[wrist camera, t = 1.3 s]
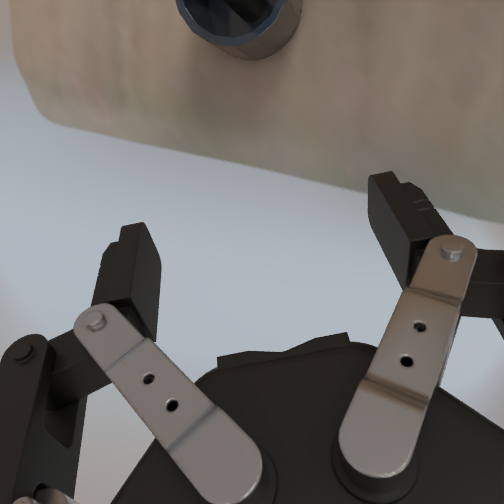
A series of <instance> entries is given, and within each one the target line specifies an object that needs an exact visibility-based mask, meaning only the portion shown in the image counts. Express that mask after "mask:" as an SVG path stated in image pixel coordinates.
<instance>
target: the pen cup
mask: <svg viewBox="0 0 504 504" xmlns="http://www.w3.org/2000/svg"><path fill="white" fill-rule="evenodd" d="M176 4H177V7H178V11H179V13H180V15H181V16H182V17H183V19H184V20H185V22H186V23H187V25H188V26H189V27H190V29H191V30H192V31H193V32H194V33H195V34H197V35H198V36H200V37H202V38H203V39H205V40H206V41H208V42H209V43H211V44H213V45H214V46H216V47H218V48H220V49H221V50H223V51H225V52H226V53H228V54H230V55H231V56H233V57H235V58H240V59H245V60H258V59H262V58H265V57H268V56H270V55H272V54H274V53H276V52H277V51H278V50H280V49H281V48H282V47H283V46H284V45H285V44H286V43H287V42H288V41H289V39H290V38H291V37H292V35H293V34H294V32H295V30H296V28H297V26H298V23H299V20H300V16H301V11H302V0H266V8H265V11H264V13H263V14H262V15H261V16H260V17H259V18H258V19H256V20H254V21H246V20H243V19H242V18H241V17H240V16H239V15H238V14H237V13H235V12H234V11H233V10H232V9H231V8H230V7H229V6H228V5H227V4H226V3H225V2H224V1H223V0H176Z"/></svg>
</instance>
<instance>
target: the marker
mask: <svg viewBox="0 0 504 504" xmlns="http://www.w3.org/2000/svg"><path fill="white" fill-rule="evenodd" d="M223 1H224V2H225V3H226V4H227V5H228V6H229V7H230V8H231V9H232V10H233V11H234V12H235V13H237V14H238V15H239V16H240V17H241V18H242V19H243V20H246V21H254V20H256V19H258V18H259V17H260V16H261V15H262V14H263V13H264V11H265V8H266V0H223Z"/></svg>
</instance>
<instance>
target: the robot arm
mask: <svg viewBox="0 0 504 504" xmlns="http://www.w3.org/2000/svg"><path fill="white" fill-rule="evenodd" d="M368 217H369V222H370V225H371V228H372V229H373V232H374V234H375V236H376V238H377V240H378V242H379V244H380V245H381V248H382V250H383V252H384V254H385V256H386V258H387V260H388V262H389V264H390V266H391V267H392V270H393V272H394V273H395V276H396V277H397V280H398V282H399V284H400V286H401V288H402V290H403V292H402V294H401V296H400V299H399V301H398V303H397V305H396V307H395V310H394V312H393V314H392V317H391V319H390V321H389V323H388V326H387V328H386V330H385V333H384V335H383V337H382V339H381V342H380V344H379V346H378V347H375V346H372V345H369V344H365V343H360V342H350V340H349V337H348V334H347V332H344V333H340V334H334V335H329V336H324V337H319V338H314V339H312V340H310V341H307V342H305V343H303V344H300V345H298V346H296V347H294V348H291V349H289V350H287V351H284V352H264V351H246V352H241V353H236V354H230V355H225V356H220V357H217V366H218V367H217V368H215V369H212V370H211V371H209V372H207V373H206V374H204V375H203V376H202V377H200V378H199V379H198V380H197V381H196V382H195V383H193V382H192V381H191V380H190V379H189V378H188V377H187V376H186V375H185V374H184V373H183V372H182V371H181V370H180V369H179V368H178V367H177V366H176V365H175V364H174V363H173V362H172V361H171V360H170V359H169V358H168V357H167V355H166V354H164V353H163V352H162V350H161V349H160V348H159V347H158V346H157V345H156V344H155V343H154V342H156V333H157V322H158V321H157V320H158V308H159V296H160V282H161V260H160V256H159V253H158V251H157V249H156V247H155V244H154V242H153V240H152V238H151V235H150V233H149V231H148V229H147V227H146V225H145V223H144V222H140V223H136V224H130V225H126V226H122V227H121V231H120V237H119V241H118V242H113V243H110V245H109V246H108V248H107V249H106V250H105V252H104V253H103V256H102V260H101V264H100V265H101V267H100V269H99V273H98V275H99V276H98V277H97V282H96V287H95V290H94V295H93V299H92V303H91V307H90V308H88V309H86V310H85V311H84V312H82V313H81V314H80V315H79V317H78V318H77V320H76V321H75V324H74V327H73V329H72V330H71V331H68V332H66V333H64V334H62V335H60V336H57V337H55V338H53V339H51V340H49V341H48V340H47V339H46V338H45V337H44V336H42V335H39V334H31V335H27V336H24V337H22V338H20V339H18V340H17V341H15V342H14V343H13V344H12V345H11V346H10V347H9V348H8V349H7V350H6V351H5V353H4V355H3V356H2V359H1V362H0V504H79V503H77V502H76V501H74V500H73V499H74V491H75V485H76V477H77V470H78V462H79V454H80V447H81V440H82V432H83V426H84V417H85V411H86V402H87V396H88V395H89V394H91V393H92V392H95V391H97V390H99V389H100V388H102V387H104V386H106V385H108V384H110V383H113V384H114V385H115V387H116V388H117V389H118V390H119V392H120V393H121V394H122V395H123V397H124V398H125V399H126V400H127V402H128V403H129V404H130V405H131V407H132V408H133V409H134V411H135V412H136V413H137V414H138V416H139V417H140V418H141V419H142V421H143V422H144V423H145V425H146V426H147V427H148V428H149V430H150V431H151V432H152V434H153V435H154V436H155V439H154V441H153V442H152V443H151V445H150V446H149V448H148V449H147V451H146V452H145V454H144V455H143V457H142V458H141V459H140V461H139V462H138V464H137V466H136V467H135V468H134V470H133V471H132V473H131V474H130V476H129V477H128V479H127V480H126V482H125V483H124V484H123V486H122V487H121V489H120V490H119V492H118V493H117V495H116V496H115V498H114V499H113V500H112V502H111V504H504V430H503V429H502V428H500V427H499V426H498V425H496V424H495V423H493V422H492V421H490V420H489V419H487V418H486V417H484V416H483V415H481V414H479V413H478V412H477V411H475V410H474V409H472V408H471V407H469V406H468V405H466V404H465V403H463V402H461V401H460V400H459V399H457V398H456V397H454V396H453V395H451V394H449V393H448V392H447V391H445V390H444V389H442V388H441V387H440V384H441V381H442V378H443V374H444V371H445V367H446V364H447V360H448V357H449V354H450V351H451V347H452V344H453V341H454V338H455V335H456V331H457V328H458V325H459V322H460V319H461V316H467V317H480V318H492V320H493V322H494V324H495V325H496V327H497V328H498V330H499V332H500V334H501V335H502V337H503V339H504V250H484V249H478V248H476V247H475V245H474V244H473V243H472V242H471V241H469V240H468V239H466V238H463V237H460V236H456V235H454V234H453V233H452V231H451V230H450V229H449V227H448V226H447V225H446V223H445V222H444V220H443V219H442V218H441V216H440V215H439V213H438V212H437V210H436V209H434V206H433V205H432V203H431V202H430V201H428V198H427V196H426V195H425V194H424V192H423V191H422V189H420V188H418V187H417V186H415V185H413V184H412V183H410V182H407V183H402V184H401V183H400V182H399V180H398V179H397V177H396V176H395V174H394V173H393V172H392V171H389V172H384V173H379V174H374V175H370V176H369V179H368Z"/></svg>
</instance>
